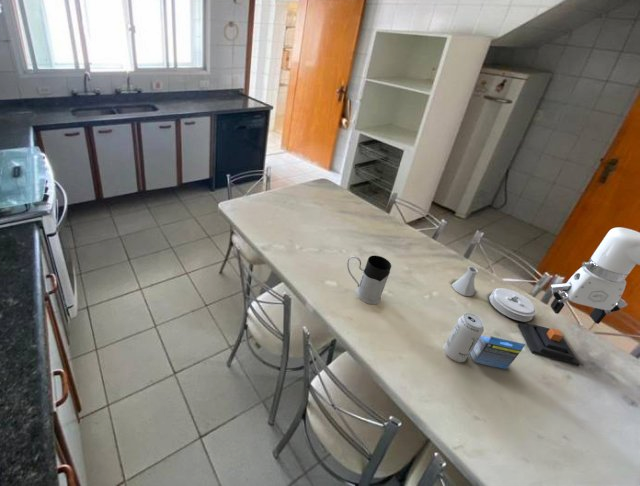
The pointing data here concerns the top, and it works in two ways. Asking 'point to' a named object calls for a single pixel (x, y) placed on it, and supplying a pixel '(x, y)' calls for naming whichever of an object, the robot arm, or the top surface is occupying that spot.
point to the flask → (466, 282)
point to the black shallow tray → (538, 347)
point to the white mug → (372, 279)
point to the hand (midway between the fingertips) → (573, 314)
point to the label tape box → (496, 351)
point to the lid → (512, 304)
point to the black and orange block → (551, 339)
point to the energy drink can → (464, 337)
